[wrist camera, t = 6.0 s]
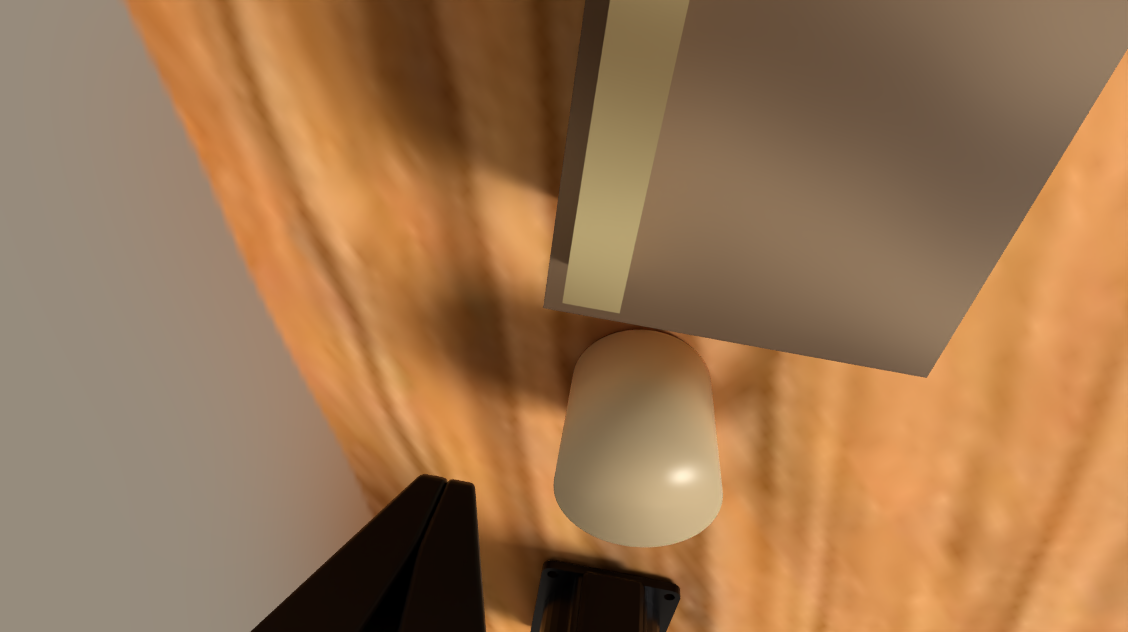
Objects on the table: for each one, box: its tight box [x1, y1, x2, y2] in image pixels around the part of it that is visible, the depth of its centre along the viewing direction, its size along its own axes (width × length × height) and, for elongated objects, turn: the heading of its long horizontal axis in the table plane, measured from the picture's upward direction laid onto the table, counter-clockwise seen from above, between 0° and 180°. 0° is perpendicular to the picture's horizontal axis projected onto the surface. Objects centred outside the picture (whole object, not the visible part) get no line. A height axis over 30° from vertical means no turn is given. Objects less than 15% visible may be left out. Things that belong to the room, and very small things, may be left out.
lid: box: [543, 0, 1128, 378], centre depth 11 cm, size 12×9×2 cm
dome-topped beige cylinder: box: [554, 330, 723, 547], centre depth 21 cm, size 5×5×5 cm
